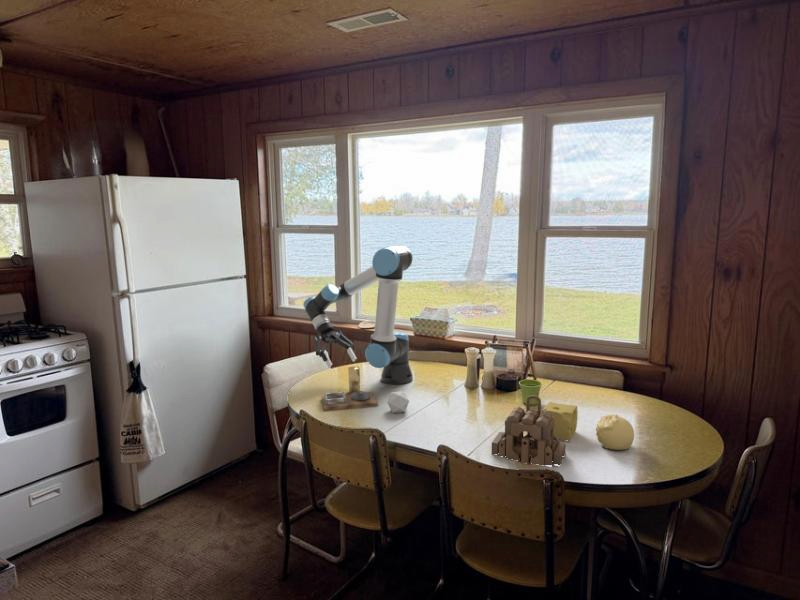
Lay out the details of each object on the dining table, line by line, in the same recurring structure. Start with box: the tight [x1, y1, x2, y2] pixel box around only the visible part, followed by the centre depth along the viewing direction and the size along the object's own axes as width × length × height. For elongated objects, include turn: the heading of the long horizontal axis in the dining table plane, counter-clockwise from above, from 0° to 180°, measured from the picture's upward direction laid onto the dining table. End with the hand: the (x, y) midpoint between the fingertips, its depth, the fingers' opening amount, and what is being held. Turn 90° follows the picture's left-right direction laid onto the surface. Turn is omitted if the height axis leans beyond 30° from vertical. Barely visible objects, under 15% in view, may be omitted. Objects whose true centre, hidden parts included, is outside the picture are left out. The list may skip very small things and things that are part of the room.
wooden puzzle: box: [491, 395, 567, 466], centre depth 175 cm, size 22×15×19 cm, turn 64°
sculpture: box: [595, 413, 635, 451], centre depth 180 cm, size 12×12×11 cm
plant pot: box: [518, 379, 543, 406], centre depth 222 cm, size 9×9×9 cm
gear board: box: [321, 390, 379, 412], centre depth 226 cm, size 22×14×4 cm, turn 102°
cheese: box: [541, 401, 579, 442], centre depth 191 cm, size 10×11×10 cm
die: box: [386, 391, 410, 414], centre depth 215 cm, size 8×9×10 cm
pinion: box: [347, 366, 361, 394], centre depth 239 cm, size 5×5×11 cm
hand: (343, 363), depth 243 cm, fingers open, 13 cm apart
